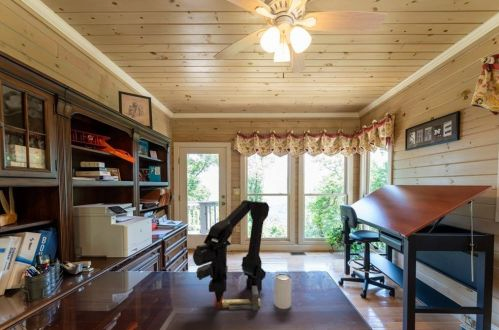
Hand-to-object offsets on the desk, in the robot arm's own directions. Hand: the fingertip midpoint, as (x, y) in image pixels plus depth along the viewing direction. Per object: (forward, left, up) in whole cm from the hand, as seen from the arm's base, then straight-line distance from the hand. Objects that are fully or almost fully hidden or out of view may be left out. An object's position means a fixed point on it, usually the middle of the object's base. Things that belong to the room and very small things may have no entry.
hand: (218, 299), depth 96 cm
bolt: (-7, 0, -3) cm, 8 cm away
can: (-25, 0, -4) cm, 25 cm away
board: (-4, 0, -4) cm, 6 cm away
